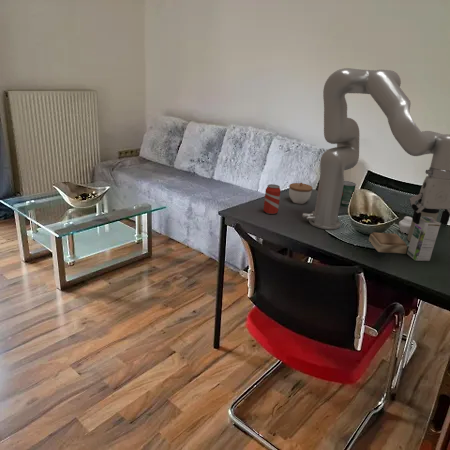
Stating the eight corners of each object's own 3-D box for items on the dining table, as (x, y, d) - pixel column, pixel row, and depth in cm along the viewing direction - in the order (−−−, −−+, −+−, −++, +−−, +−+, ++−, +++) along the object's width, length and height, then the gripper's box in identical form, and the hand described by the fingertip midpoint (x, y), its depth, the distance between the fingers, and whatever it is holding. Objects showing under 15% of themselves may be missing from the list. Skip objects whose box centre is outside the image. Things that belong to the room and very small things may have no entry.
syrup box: (406, 253, 143) (415, 215, 137) (421, 254, 143) (432, 216, 138) (414, 261, 137) (425, 222, 132) (430, 261, 138) (441, 222, 132)
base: (377, 252, 143) (380, 242, 141) (368, 241, 152) (370, 231, 150) (405, 254, 143) (408, 244, 141) (394, 242, 152) (396, 233, 151)
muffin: (397, 233, 160) (401, 217, 158) (396, 228, 165) (400, 212, 163) (413, 236, 158) (417, 220, 156) (412, 231, 164) (417, 215, 161)
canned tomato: (331, 203, 191) (334, 181, 187) (343, 201, 195) (347, 180, 190) (342, 208, 185) (346, 186, 181) (355, 207, 188) (359, 184, 184)
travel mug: (403, 236, 157) (414, 193, 150) (424, 238, 157) (435, 194, 150) (412, 245, 150) (424, 200, 143) (433, 246, 150) (446, 201, 143)
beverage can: (280, 213, 173) (284, 187, 169) (269, 215, 170) (272, 188, 165) (271, 209, 178) (274, 183, 173) (260, 211, 174) (263, 184, 170)
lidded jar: (313, 205, 187) (316, 186, 183) (292, 205, 184) (294, 186, 181) (304, 198, 196) (307, 179, 193) (284, 198, 194) (286, 179, 190)
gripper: (421, 175, 125) (409, 226, 131) (474, 177, 126) (460, 228, 132) (410, 170, 132) (399, 218, 138) (460, 172, 133) (448, 220, 139)
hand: (429, 223), depth 135 cm, fingers open, 9 cm apart
